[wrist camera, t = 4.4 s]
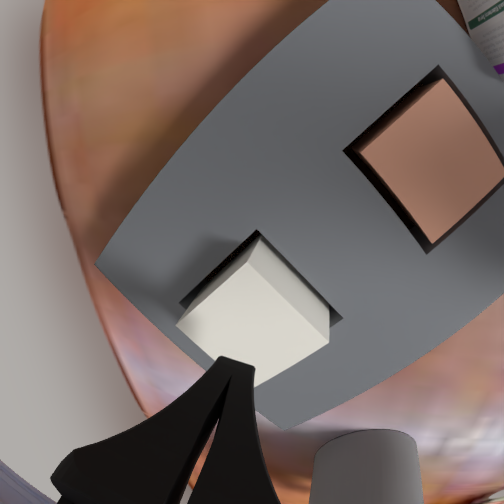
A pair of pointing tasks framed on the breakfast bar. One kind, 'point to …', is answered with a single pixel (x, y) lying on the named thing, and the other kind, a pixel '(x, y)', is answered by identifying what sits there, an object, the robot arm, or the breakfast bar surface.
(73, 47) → the breakfast bar surface
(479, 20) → the syrup box
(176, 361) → the breakfast bar surface
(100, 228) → the breakfast bar surface
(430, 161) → the terracotta key
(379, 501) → the coffee mug
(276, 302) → the cream key
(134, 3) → the breakfast bar surface
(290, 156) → the key board
